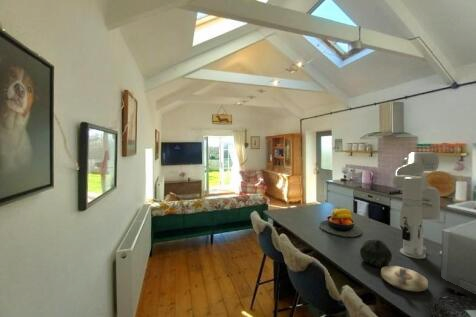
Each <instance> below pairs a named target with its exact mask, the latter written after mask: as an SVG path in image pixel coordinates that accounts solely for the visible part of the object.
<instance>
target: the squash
mask: <svg viewBox="0 0 476 317" xmlns="http://www.w3.org/2000/svg"><path fill="white" fill-rule="evenodd" d="M359 255H360V257H361V259H362V260H363V261H364V262H366V263H367V264H370V265H372V266H373V265H374V267H376V268H383V267H385V266H389V263H390V262H391V261H392V260H393V255H392V251H391V250H390V248H389V247H388V245H387V244H385V243H384V242H383V241H382V240H380V239H370V240H366V241H365V242H364V243H362V246H361V247H360V249H359Z"/></svg>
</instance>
